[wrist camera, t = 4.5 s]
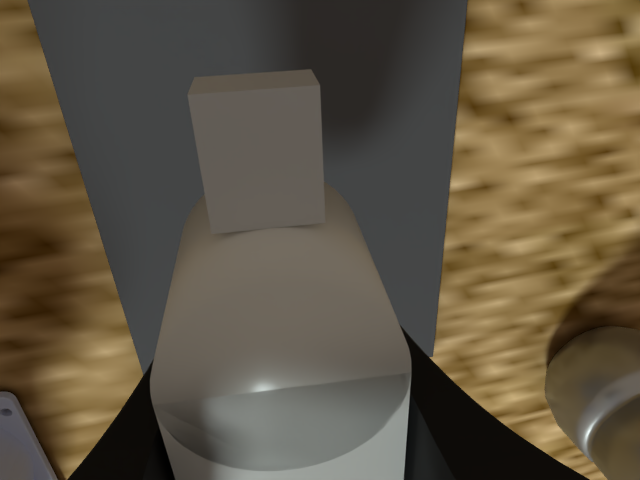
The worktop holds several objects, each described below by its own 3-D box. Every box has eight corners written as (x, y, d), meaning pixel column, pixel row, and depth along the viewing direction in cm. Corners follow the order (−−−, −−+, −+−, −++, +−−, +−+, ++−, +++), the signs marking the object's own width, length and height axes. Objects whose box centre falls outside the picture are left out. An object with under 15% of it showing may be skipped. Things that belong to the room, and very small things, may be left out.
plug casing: (360, 432, 16) (396, 584, 12) (223, 451, 16) (216, 614, 12) (360, 48, 10) (431, 108, 6) (139, 63, 10) (70, 136, 6)
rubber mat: (429, 349, 25) (432, 356, 25) (150, 384, 24) (149, 392, 24) (467, -61, 16) (473, -61, 16) (22, -39, 15) (15, -38, 15)
